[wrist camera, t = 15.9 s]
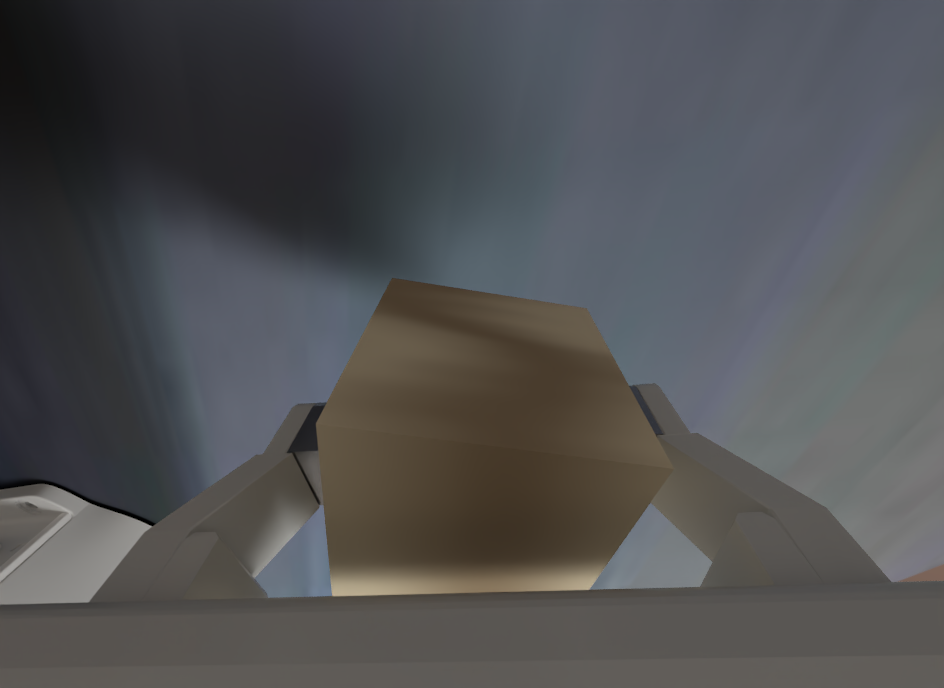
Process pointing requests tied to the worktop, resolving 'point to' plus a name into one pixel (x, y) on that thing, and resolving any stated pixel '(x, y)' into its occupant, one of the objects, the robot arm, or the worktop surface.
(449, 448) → the beech block
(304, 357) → the worktop surface
